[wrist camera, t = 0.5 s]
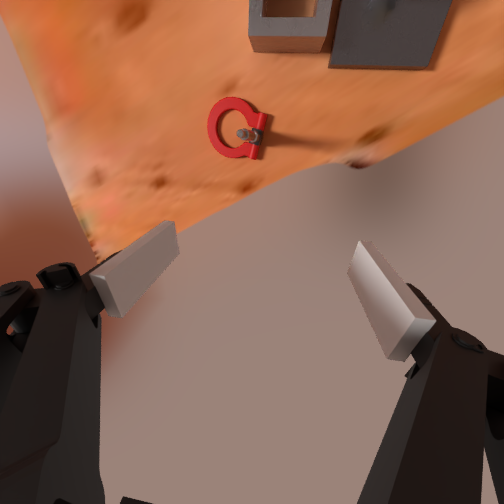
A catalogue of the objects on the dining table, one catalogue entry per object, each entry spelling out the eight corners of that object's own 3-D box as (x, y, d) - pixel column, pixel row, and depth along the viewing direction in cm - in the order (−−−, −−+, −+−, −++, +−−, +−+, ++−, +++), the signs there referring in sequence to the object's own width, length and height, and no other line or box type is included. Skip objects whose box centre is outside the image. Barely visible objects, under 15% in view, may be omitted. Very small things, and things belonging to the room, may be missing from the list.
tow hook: (206, 149, 35) (255, 165, 35) (166, 151, 24) (238, 174, 24) (214, 91, 31) (270, 108, 31) (169, 60, 20) (257, 88, 19)
